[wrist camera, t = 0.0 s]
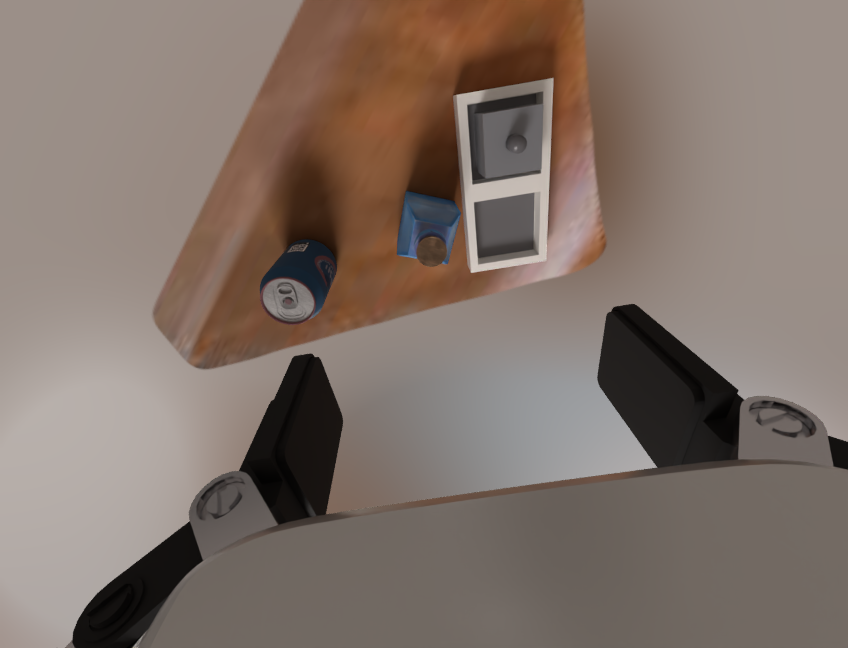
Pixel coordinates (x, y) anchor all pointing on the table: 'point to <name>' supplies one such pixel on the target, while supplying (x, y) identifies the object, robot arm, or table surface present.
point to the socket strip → (503, 185)
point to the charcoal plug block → (509, 140)
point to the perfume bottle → (427, 228)
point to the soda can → (298, 282)
